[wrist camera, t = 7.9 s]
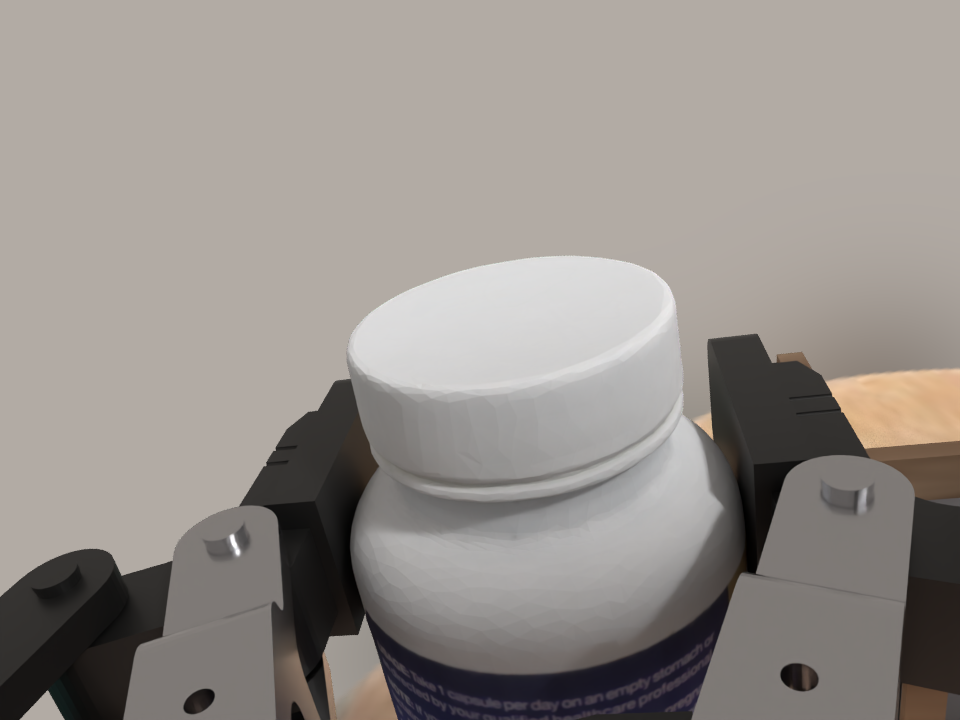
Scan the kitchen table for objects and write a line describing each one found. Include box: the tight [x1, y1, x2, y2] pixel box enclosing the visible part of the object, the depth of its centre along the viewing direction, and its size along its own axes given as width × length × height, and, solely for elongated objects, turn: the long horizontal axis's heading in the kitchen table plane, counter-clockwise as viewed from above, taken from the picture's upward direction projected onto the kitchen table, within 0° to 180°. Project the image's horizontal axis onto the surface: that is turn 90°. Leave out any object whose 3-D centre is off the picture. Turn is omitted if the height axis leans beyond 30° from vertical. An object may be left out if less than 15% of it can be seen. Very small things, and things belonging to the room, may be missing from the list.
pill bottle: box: [347, 256, 748, 720], centre depth 11 cm, size 5×5×9 cm
